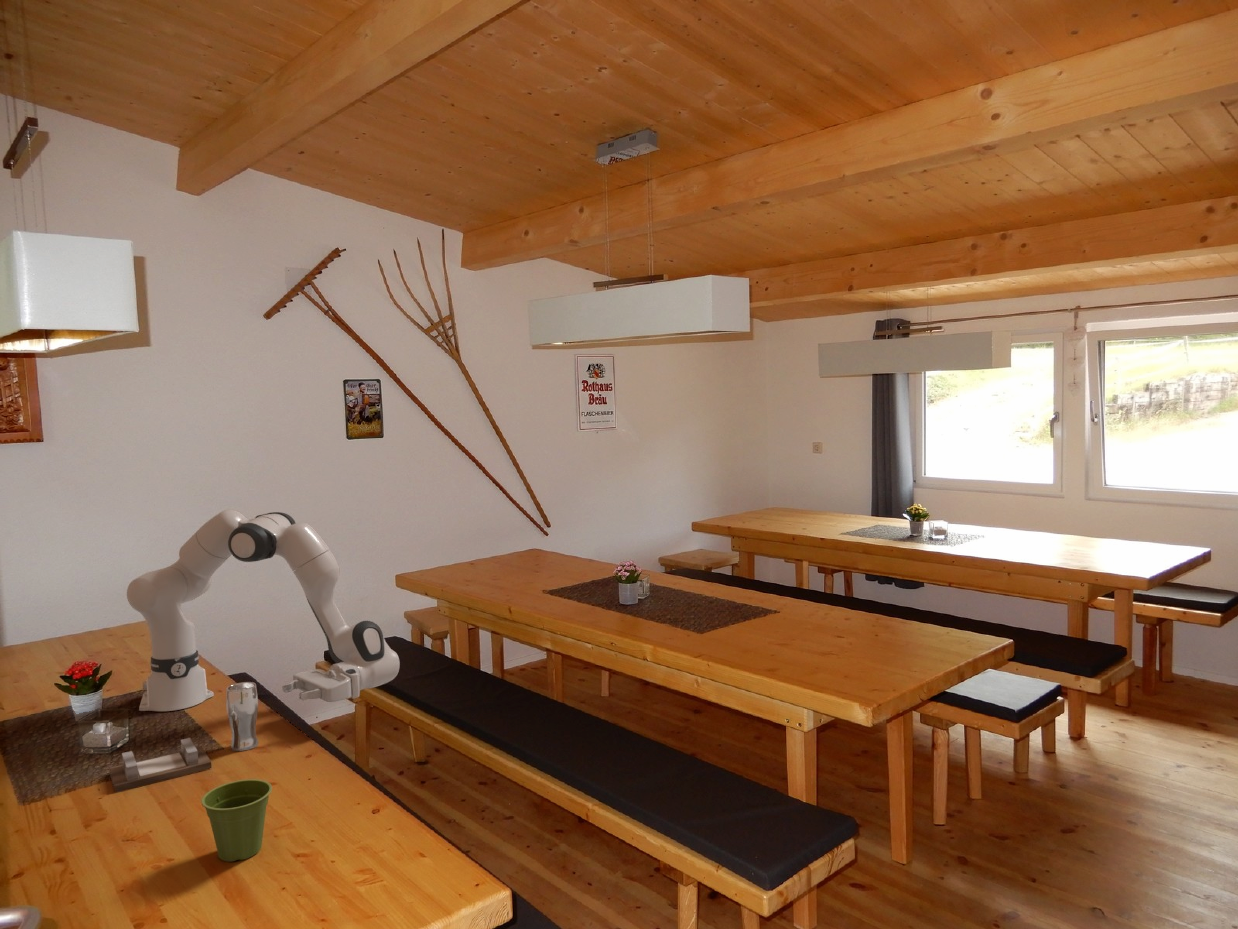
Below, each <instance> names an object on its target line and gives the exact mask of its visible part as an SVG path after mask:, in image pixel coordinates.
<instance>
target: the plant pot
mask: <svg viewBox="0 0 1238 929" xmlns="http://www.w3.org/2000/svg"><path fill="white" fill-rule="evenodd" d="M272 790H273V786H272V784H271V783H270V782H269V781H266V780H263V779H255V778H253V779H252V778H251V779H250V778H249V779H241V780H235V781H230V782H226V783H222V784H221V785H218V786H216V787H214V788H212V789H210V790H209V791H207V792H205V793H204V795H203V796H202V798H201V801H200V802H201V805H202V807H204V808H205V811H206V815H207V817H208V818H209V822H210V826H211V830H212V835H213V838H214V843H215V847H216V851H217V856H218V858H219V859H220V860H221V861H224V862H228V863H229V862H232V863H233V862H235V861H238V860H242V861H243V860H248V859H249V858H252V857H253V856H255V855H256V854H258V853H259V852H260V850H261V848H262V846H263V844H262V843H263V836H264V828H265V821H266V820H265V819H266V814H267V813H266V812H267V806H268V803H269V798H270V797H269V795H270V794H271V793H272Z"/></svg>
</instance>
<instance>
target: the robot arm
mask: <svg viewBox="0 0 1238 929" xmlns="http://www.w3.org/2000/svg"><path fill="white" fill-rule="evenodd" d="M178 552H179V553H178V557H179V558H178V560H177V561H176V562H174V563H173V564H171V565H168V566H166V567H163V568H160V569H156V570H152V571H148V572H145V573H143V574H142V575H139V576H138V577H136V578H134V579H132V581H130V583H129V584H128V586H127V589H126V599H127V602H128V604H129V606H131V608H133V609H134V610H135V611H137V612H138V613H140V614H141V615H142V617H143V618H144V620H145V621H146V624H147V626H148V629H149V634H150V636H149V637H150V644H151V657H150V663H149V664H150V670H151V672H150V674H149V676H148V677H147V679H146V680H145V681H142V690H144V691H145V690H146V691H145V692H143V694H142V697H141V700H140V704H139V707H138V708H139V709H138V711H140V712H146V711H147V712H148V711H150V712H151V711H152V712H170V711H171V712H172V711H178V710H183V709H189V708H191V707H194V706H196V705H199V704H201V703H203V702H205V701H206V700H208V699H210V698H212V697H214V696H215V694H214V691H212V690H210V689H208V686H207V685H208V684H207V675H206V669H205V668H203V667H202V666H200V664H199V663H200V661H199V660H200V659H199V658H200V655H199V651H198V650H197V639H196V637H197V636H196V626H195V624H194V622H193V621H191V619H188V618H186V616H185V615H184V613H183V610H182V604H184V603H188V602H190V601H194V600H195V599H197V598H199V597H200V596H202V595H203V594H205V593H206V592H208V591H209V589H210V587H211V584H212V576H213V574H214V573H215V572H216V571H217V570H218V569H219V568H220V567H221V566H222V565H223V564H224V563H225V562H226V561H227V560H228V559H229V558H230V557H231V556H233V557H234V558H235V559H236V560H238V561H241V562H243V563H253V562H259V561H262V560H266V559H272V558H273V557H274V556H275V555H277V556H279V557H282V558H283V559H284V561H285V562H286V563H287V564H288V566H289V568H290V569H291V571H292V572H293V574H294V576H295V577H296V579H297V580H298V582H299V584H300V586H301V587H302V589H303V592H304V595H305V597H306V601H307V602H308V604H309V607H310V610H311V611H312V613H313V614H314V617H315V619H316V621H317V622H318V624H319V627H320V628H321V631H322V632H323V634H324V636H325V639H326V642H327V648H328V653H329V654H330V657H331V659H332V660H333V661H334V662H335V663H333V664H332V665H331V666H330V668H329V670H327V671H326V670H325V669H320V668H315V669H310V670H304V671H300V672H296V673H295V674H293V676H292V681H291V682H289V683H287V684H283V685H282V692H283V693H286V694H288V693H292V692H293V690H300V691H301V692H299V693H298V696H299V697H298V698H299V700H301V701H306V700H317V699H320V700H323V701H324V702H327V703H334V702H335V703H336V702H339V701H343V700H348V699H356V698H359V697H360V691H362V690H364V689H373V688H375V687H379V686H382V685H386V684H388V683H389V682H392V681H393V680H395V678H396V677H397V676H398V673H399V671H400V665H401V664H400V663H401V662H400V658H399V655H398V653H397V652H396V651H394V650H393V649H391V647H390V646H389V644H388V643H387V642H386V639H385V637H384V634H383V631H382V629H381V627H380V626H379V625H378V624H377V623H375V622H374V621H372V620H363V621H359V622H356V624H353V625H351V626H349V625H348V624H347V622H346V621H345V619H344V617H343V616H342V613H341V611H340V610H339V608H338V605H337V604H336V601H335V597H334V592H335V587H336V585H337V583H338V580H339V578H340V567H339V563H338V561H337V559H336V557H335V555H334V554H333V552H332V551H331V549H330V547H329V546H328V545H327V543H326V542H325V540H324V539H323V538H322V537H321V535H320V534H319V533H318V532H317V531H316V530H315V529H314V528H313V527H312V525H311V524H309V523H306V522H296V521H295V519H294V518H293V517H292V516H291V515H289V514H288V513H285V512H279V511H278V512H277V511H276V512H267V513H263V514H259V515H256V516H255V517H254V518H247V517H246V516H245V515H244V514H243V513H241V512H239V511H237V510H234V509H225V510H222V511H220V512H218V513H217V514H215V515H214V516H213V517H211V518H210V519H209V520H207V521H206V522H205V523H204V524H203V525H202V526H201V527H200V528H198V529H197V531H195V533H194V534H192V536H191V537H190V538H189V539H188V540H187V541H186V542H184V543H183V545H181V547H180V548H179V551H178Z"/></svg>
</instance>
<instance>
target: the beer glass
mask: <svg viewBox="0 0 1238 929" xmlns="http://www.w3.org/2000/svg"><path fill="white" fill-rule="evenodd" d="M258 698H259V697H258V691H257V684H256V683H255V682H253V681H252V682H251V681H244V682H237V683H233V684H231V685H228V686H227V687H226V712H227V717H228V721H229V725H230V729H231V741H230V750H232V751H233V752H244V751H245V752H246V751H249V750H253V749H255V748H256V747H257V746H258V745H259V741H258V738H257V737H258V736H257V731H256V729H257V727H256V726H257V718H258V710H259V709H258V708H259V699H258Z"/></svg>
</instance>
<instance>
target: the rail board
mask: <svg viewBox="0 0 1238 929" xmlns="http://www.w3.org/2000/svg"><path fill="white" fill-rule="evenodd" d="M121 758H122V759H121V760H122V761H121V763H122V764H119V765H115V766H110V767H109V769H108V770H109V776H110V779H111V783H112V787H113V789H114V793H119V792H124V791H127V790H131V789H136V788H139V787H143V786H147V785H151V784H156V783H160V782H164V781H167V780H172V779H175V778H179V777H184V776H188V775H191V774H190V773H192V774H197V773H199V771H200V772H203V771H202V770H204V771H207V769H208V770H211V769H210V768H212V761H211V759H210V758H209V756H208V755H207V753H206V750H205V749H204V748H203V746H202V745H200V746H196V745H195V744H194V742H193V741H192V739H191V737H187V738H184V739H183V738H182V739H180V750H178V751H174V752H170V753H166V754H162V755H161V754H160V755H157V756H154V757H149V758H145V759H140V760H136V758H135V755H134V753H133V750H130V751H126V752H122V753H121ZM187 774H188V775H187Z"/></svg>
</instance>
